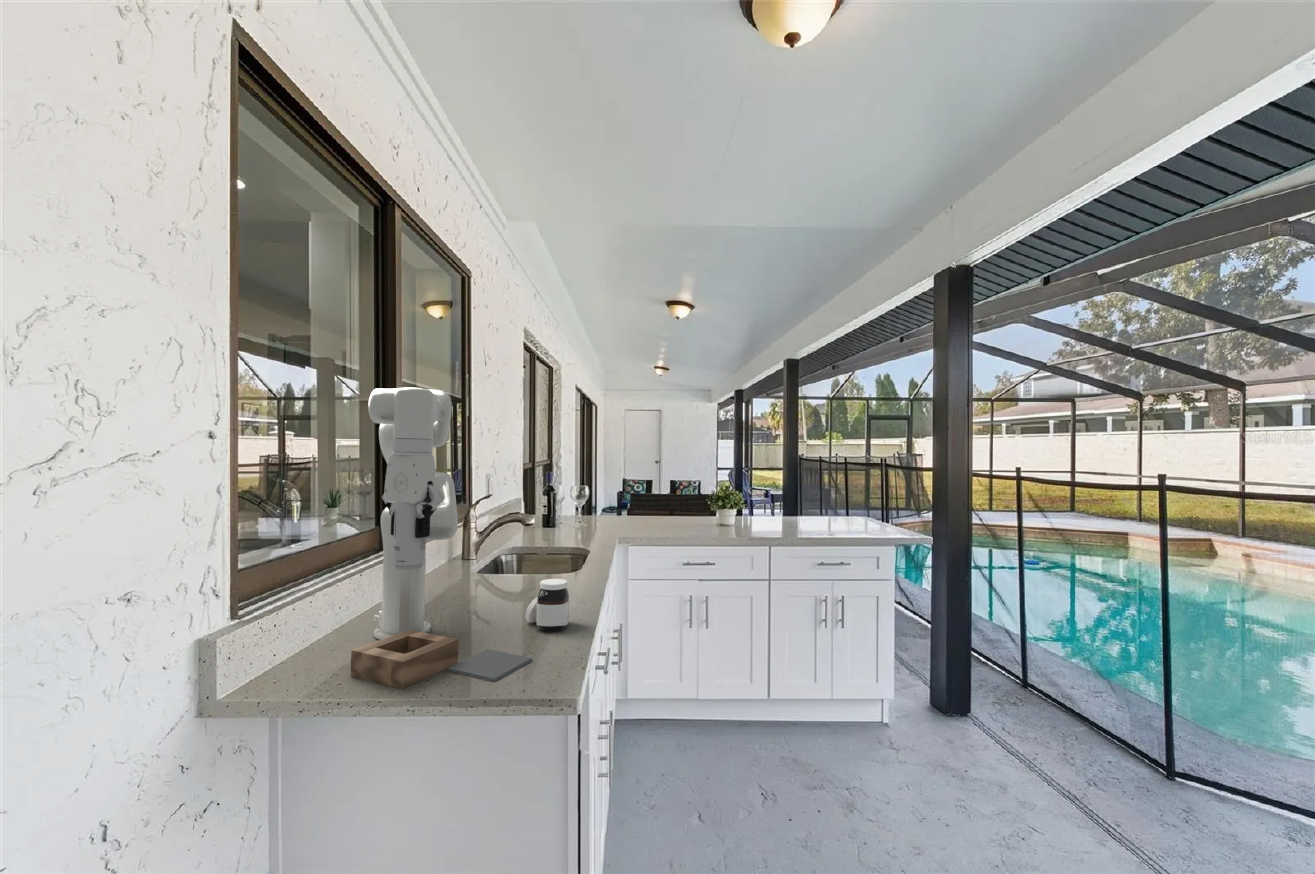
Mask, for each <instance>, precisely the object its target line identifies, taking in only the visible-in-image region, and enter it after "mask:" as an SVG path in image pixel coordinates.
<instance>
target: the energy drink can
mask: <svg viewBox="0 0 1315 874" xmlns="http://www.w3.org/2000/svg"><path fill="white" fill-rule="evenodd" d="M420 502H425V501H424V500H423V501H420ZM422 507H423V510H424V509H425V506H422ZM416 518H419V517H418V513H417V510H416V504H406V503H403V502H400V501H399V502H396V503H395V515H394V546H393V565H395V566H396V569H398V570H413V569H419V568H421V567H422V564H423V563H425V559H426V549H427V548H426V547H427V544H426V537H423V538H416V537H415V524H416Z"/></svg>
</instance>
